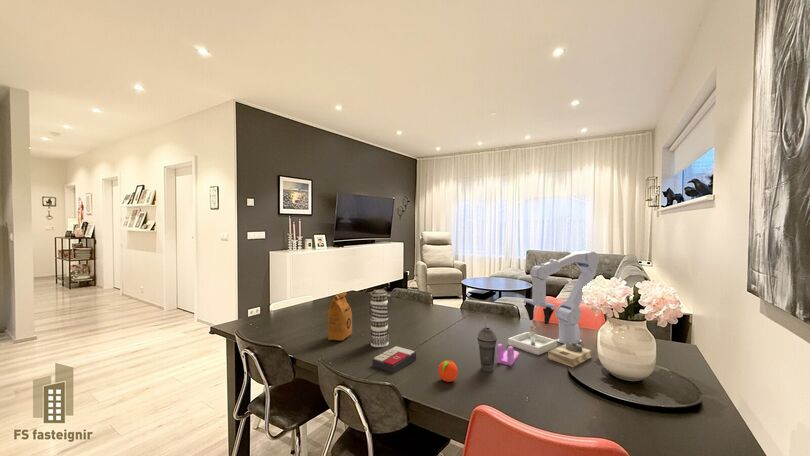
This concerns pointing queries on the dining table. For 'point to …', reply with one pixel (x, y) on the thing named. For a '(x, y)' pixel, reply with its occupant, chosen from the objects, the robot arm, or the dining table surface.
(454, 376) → the clementine
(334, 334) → the coffee package
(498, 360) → the bracket
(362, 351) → the dining table surface
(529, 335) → the tray
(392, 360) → the flat product box
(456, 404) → the dining table surface
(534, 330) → the pin
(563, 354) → the block
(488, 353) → the beverage cup
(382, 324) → the grey striped cylinder
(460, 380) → the dining table surface
